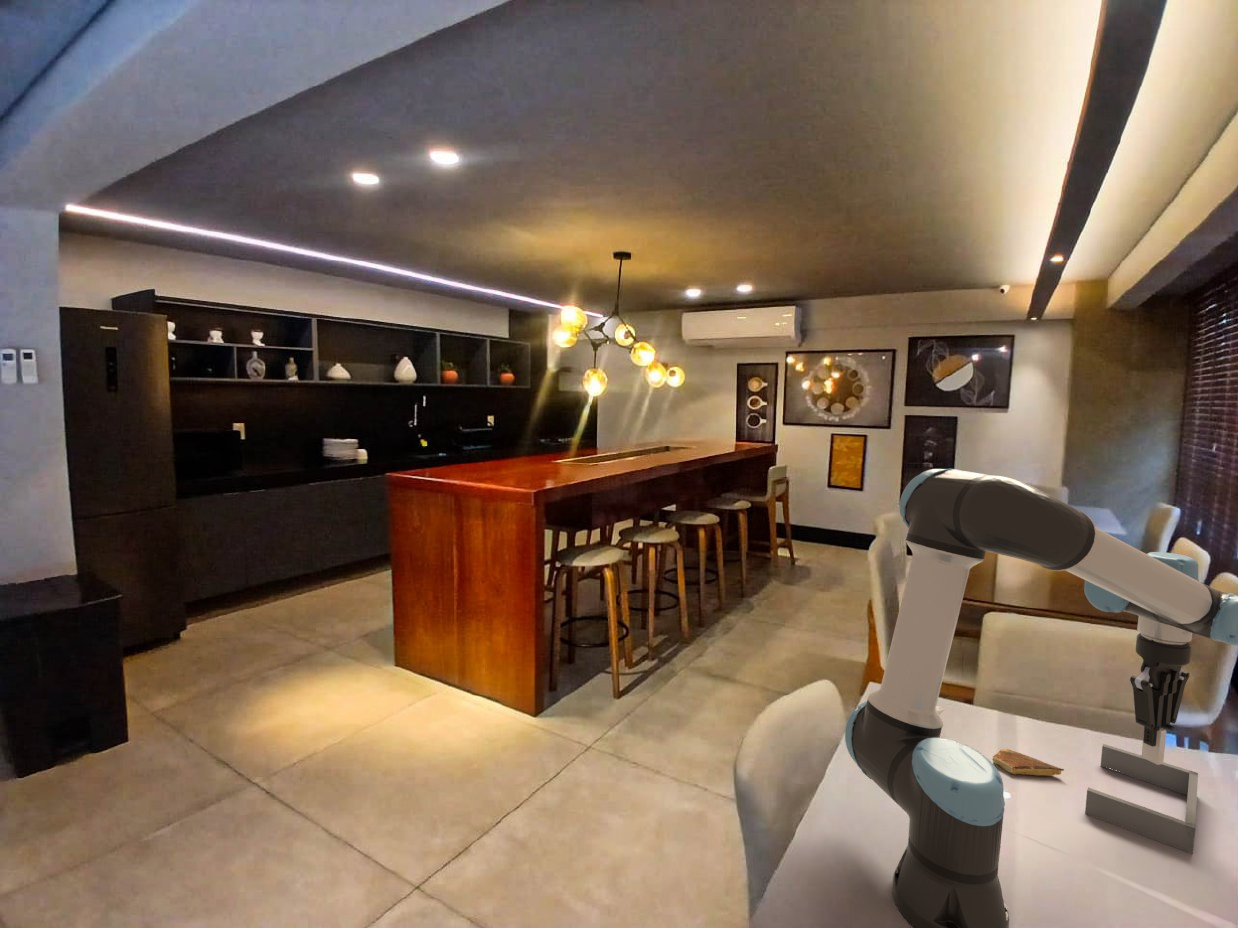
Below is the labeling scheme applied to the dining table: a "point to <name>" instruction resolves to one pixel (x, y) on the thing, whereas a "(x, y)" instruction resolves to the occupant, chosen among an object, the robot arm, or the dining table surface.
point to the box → (1139, 816)
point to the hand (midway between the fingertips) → (1152, 760)
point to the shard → (1023, 764)
